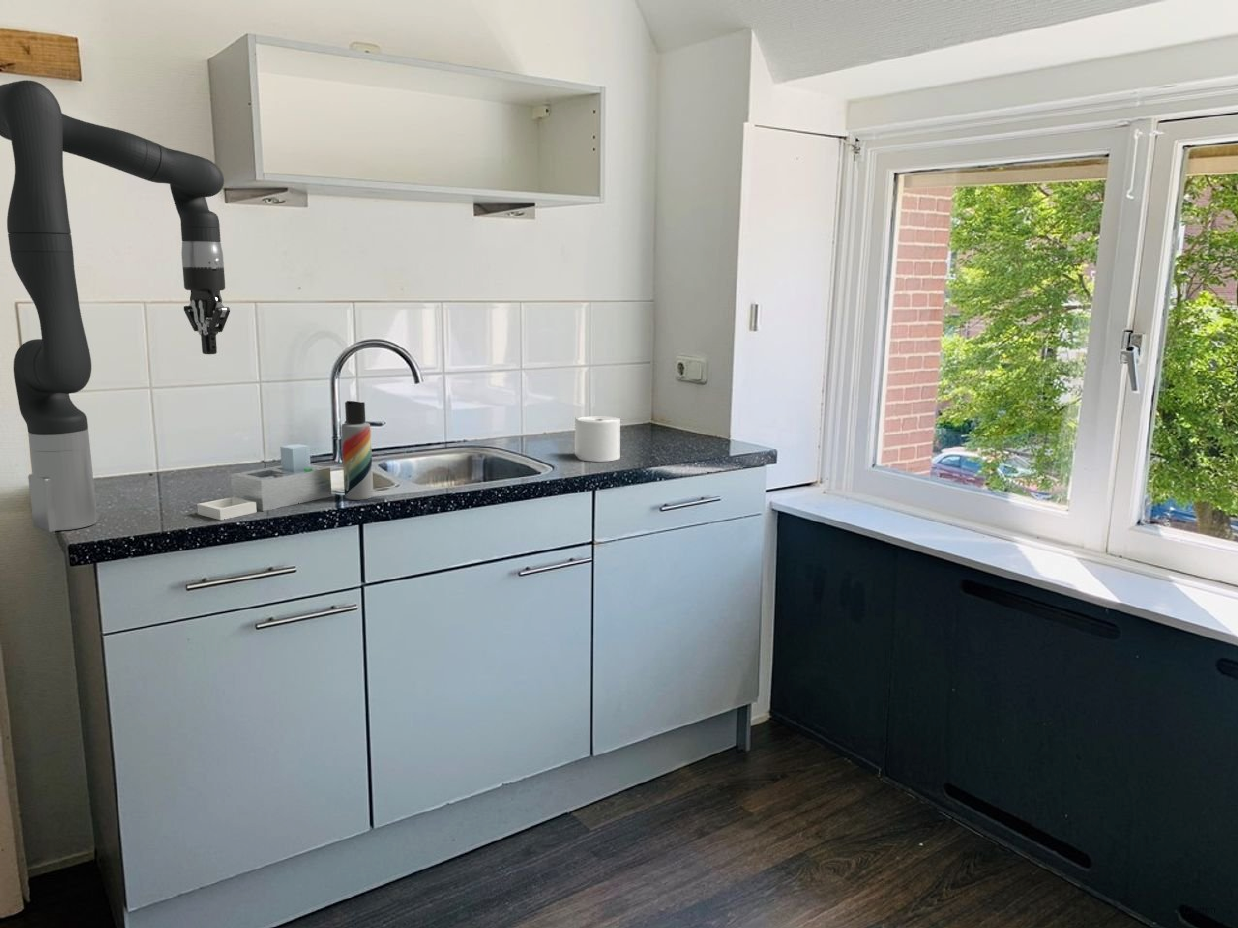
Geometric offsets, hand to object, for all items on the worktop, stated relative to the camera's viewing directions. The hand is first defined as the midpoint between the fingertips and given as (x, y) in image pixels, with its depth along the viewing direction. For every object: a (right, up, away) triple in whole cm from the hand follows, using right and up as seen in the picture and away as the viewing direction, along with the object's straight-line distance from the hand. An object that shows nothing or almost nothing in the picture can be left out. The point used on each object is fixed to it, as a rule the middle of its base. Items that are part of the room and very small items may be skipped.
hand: (209, 353), depth 190 cm
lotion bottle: (+29, -29, +5) cm, 41 cm away
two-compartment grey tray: (+14, -29, +2) cm, 33 cm away
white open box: (+7, -31, -9) cm, 34 cm away
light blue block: (+16, -27, +4) cm, 32 cm away
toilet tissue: (+76, -21, +49) cm, 93 cm away
